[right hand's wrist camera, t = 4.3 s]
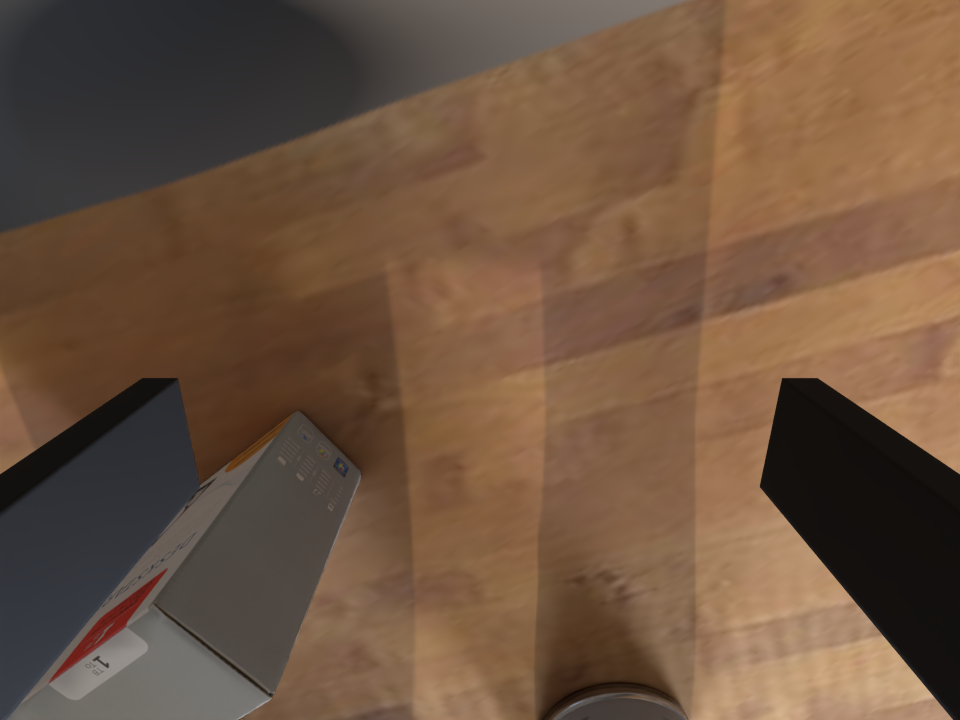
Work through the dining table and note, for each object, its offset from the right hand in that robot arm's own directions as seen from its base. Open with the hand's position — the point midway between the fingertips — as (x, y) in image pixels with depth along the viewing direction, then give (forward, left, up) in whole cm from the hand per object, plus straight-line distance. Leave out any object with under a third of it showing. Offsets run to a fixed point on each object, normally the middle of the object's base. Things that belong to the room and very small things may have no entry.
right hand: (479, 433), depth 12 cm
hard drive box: (-20, +18, -28) cm, 39 cm away
